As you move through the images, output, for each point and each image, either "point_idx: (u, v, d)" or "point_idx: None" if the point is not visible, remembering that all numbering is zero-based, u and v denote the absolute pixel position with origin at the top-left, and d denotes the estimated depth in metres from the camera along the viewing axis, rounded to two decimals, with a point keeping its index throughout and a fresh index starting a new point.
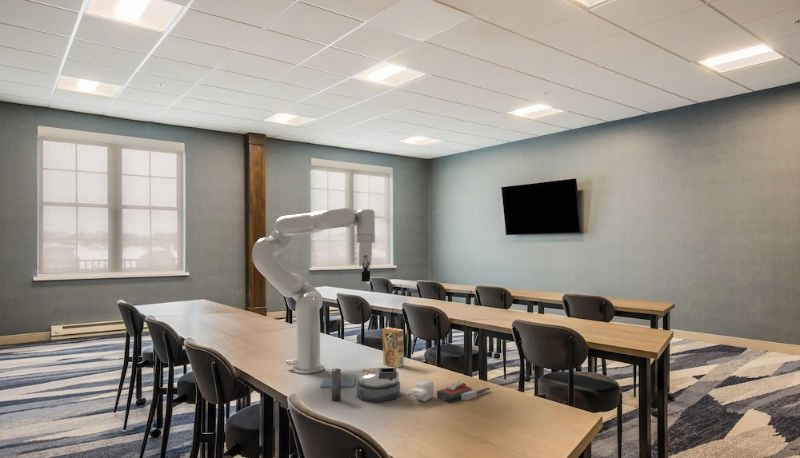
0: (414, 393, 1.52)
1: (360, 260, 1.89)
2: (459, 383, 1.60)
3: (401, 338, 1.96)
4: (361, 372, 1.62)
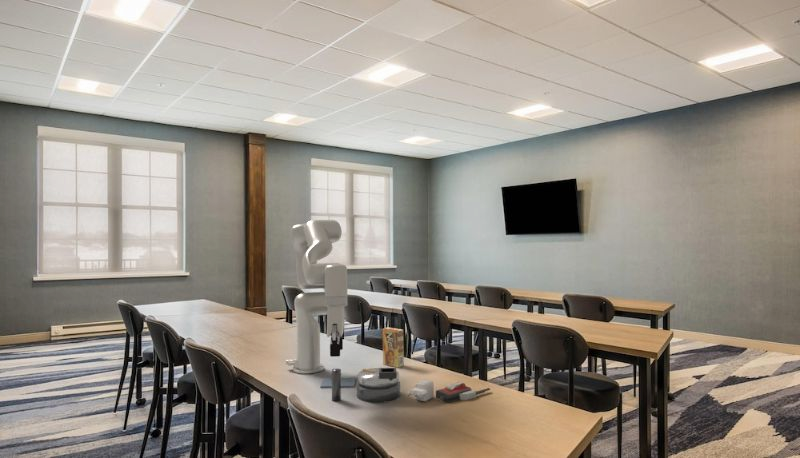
0: (414, 393, 1.52)
1: (328, 330, 1.51)
2: (458, 383, 1.60)
3: (401, 338, 1.96)
4: (361, 372, 1.62)
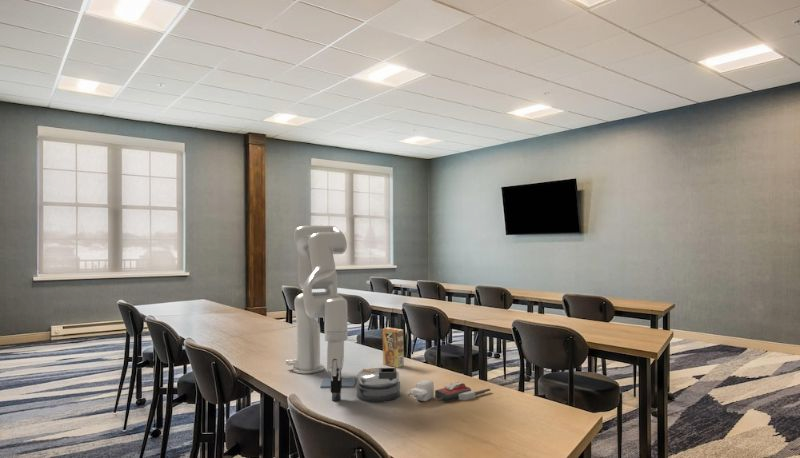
0: (414, 393, 1.52)
1: (328, 365, 1.51)
2: (458, 383, 1.60)
3: (401, 338, 1.96)
4: (361, 372, 1.62)
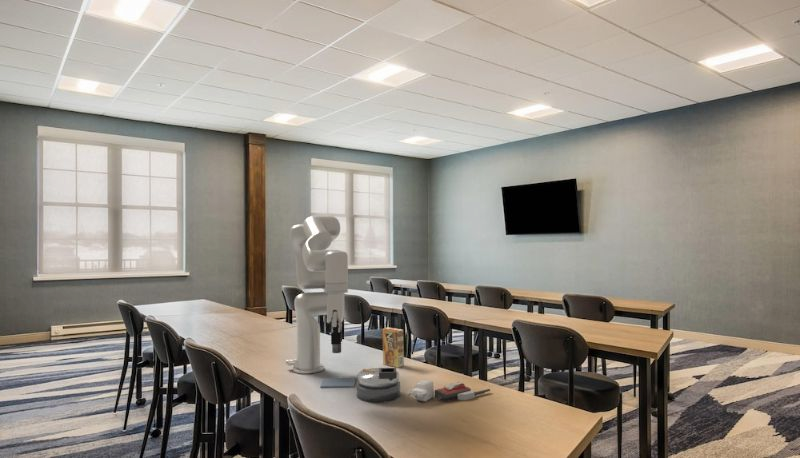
0: (414, 393, 1.52)
1: (328, 316, 1.52)
2: (458, 383, 1.60)
3: (401, 338, 1.96)
4: (361, 372, 1.62)
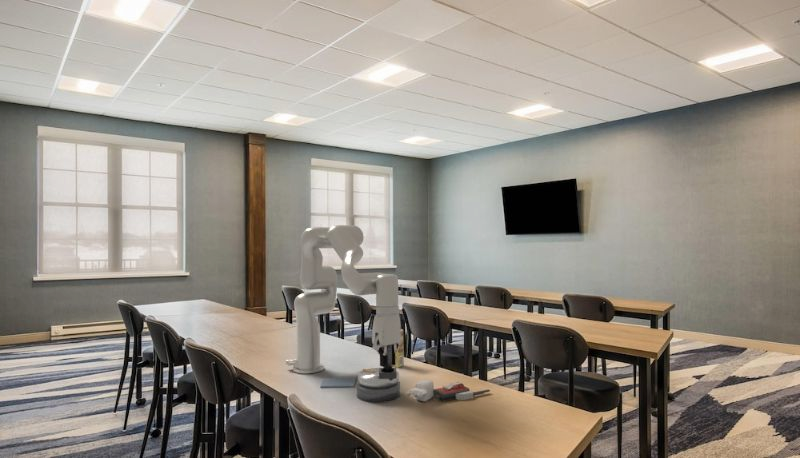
0: (414, 393, 1.52)
1: (372, 337, 1.56)
2: (457, 383, 1.60)
3: (401, 338, 1.96)
4: (361, 372, 1.62)
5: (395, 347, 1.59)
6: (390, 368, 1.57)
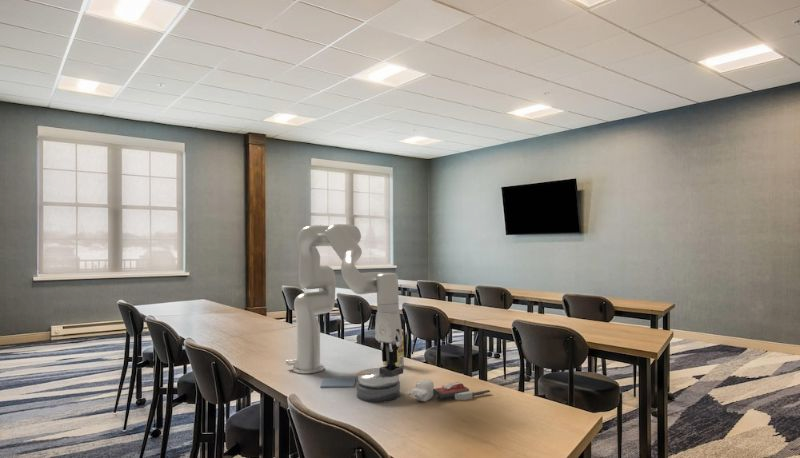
0: (414, 393, 1.52)
1: (393, 335, 1.57)
2: (456, 383, 1.60)
3: None
4: (362, 376, 1.58)
5: None
6: None
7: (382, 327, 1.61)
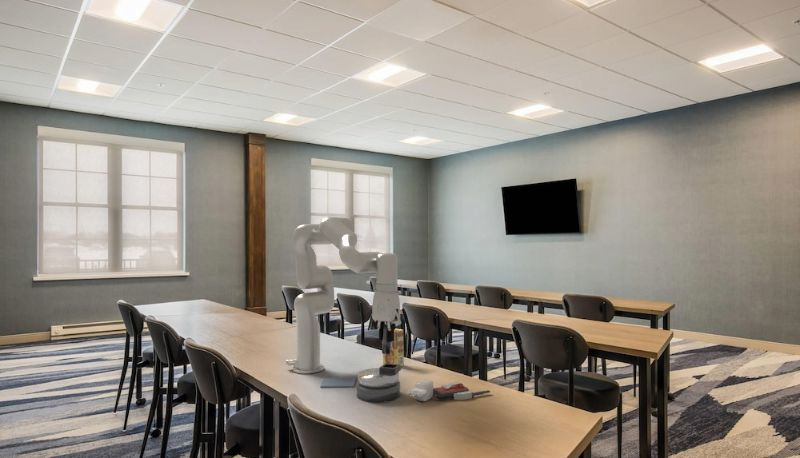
0: (414, 393, 1.52)
1: (392, 315, 1.60)
2: (456, 383, 1.60)
3: (401, 338, 1.96)
4: (367, 378, 1.56)
5: None
6: None
7: (380, 306, 1.63)
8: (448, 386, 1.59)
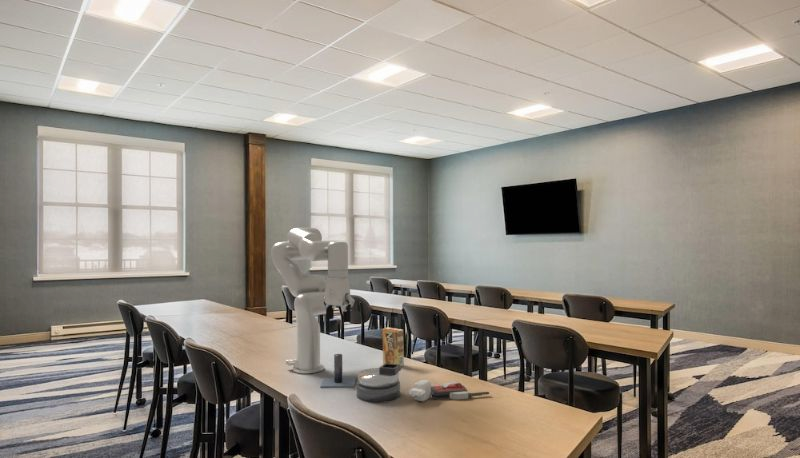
0: (413, 393, 1.52)
1: (342, 299, 1.70)
2: (454, 382, 1.60)
3: (401, 338, 1.96)
4: (367, 378, 1.56)
5: None
6: None
7: (332, 291, 1.73)
8: (446, 385, 1.60)
